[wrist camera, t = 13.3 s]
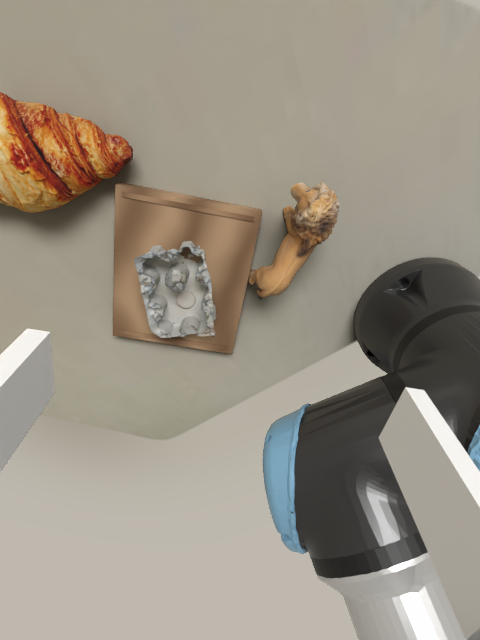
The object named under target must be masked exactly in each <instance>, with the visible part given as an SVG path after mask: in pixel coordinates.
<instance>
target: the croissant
mask: <svg viewBox="0 0 480 640" xmlns="http://www.w3.org/2000/svg"><path fill="white" fill-rule="evenodd" d="M132 152H133V149H132V147H131V146H129V144H128V142H127V140H125V139H124V138H122V137H121V136H118V135H110V134H104V132H103V131H102V130H101V129H100V128H99V127H98V126H97V125H95V124H94V123H92V122H91V121H90V120H85V119H82V118H80V117H78V116H77V117H74V116H72V115H69V114H68V113H64V114H62V113H57V112H56V111H55V109H54V108H51V107H49V106H46V105H43V104H39V103H31V102H28V103H26V102H20V101H16V100H13V99H11V98H10V97H8V96H7V95H6V94H3V93H1V92H0V203H2V204H5V205H6V206H13V207H16V208H17V209H20V210H22V211H24V212H30V213H35V212H42V211H45V210H49V209H54V208H58V207H60V206H62V205H64V204H66V203H68V202H70V201H72V200H73V199H75V198H76V197H77V196H79V195H81V194H83V193H84V192H86V191H88V190H90V189H91V188H93V187H95V186H96V185H97V184H98V183H100V182H101V181H102V180H103V179H104V178H112V177H114V176H116V175H117V174H118V173H119V171H120V170H121V169H122V168H123V167H124V165H125V164H127V163H128V162H129V161H130V160H132V158H133V153H132Z"/></svg>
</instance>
